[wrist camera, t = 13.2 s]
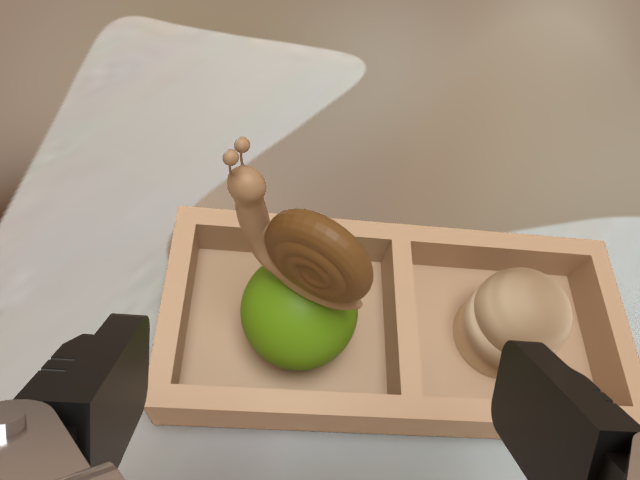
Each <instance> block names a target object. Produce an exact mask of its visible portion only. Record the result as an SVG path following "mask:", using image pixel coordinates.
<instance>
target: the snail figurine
mask: <svg viewBox="0 0 640 480" xmlns="http://www.w3.org/2000/svg"><path fill="white" fill-rule="evenodd" d="M234 148H235V150H236V151H237V152H239V153H240V161H241V166H239V167H236V168H234V169H233V170H232V171H231V166H233V165H235V164H236V163H237V162H238V160H239V155H238V153H237V152H236V151H235V150H233V149H229V150H227V151H226V152H225V153H224V155H223V162H224V163H225V164H226V165H229V175H228V180H227V186H228V190H229V193H230V194H231V196H232V197H233V199H234V201H235V209H236V214H237V218H238V222H239V225H240V228H241V231H242V233H243V235H244V238H245V240H246V242H247V244H248V246H249V248H250V249H251V251H252V253H253V254H254V256H255V258H256V259H257V260H258V261H259V263H260V264H261V265H262V266H261V267H260V268H259V269H258V270H257V271H256V272H255V273H254V274H253V276H252V277H251V278H250V280H249V281H248V283H247V285H246V287H245V290H244V292H243V296H242V300H241V307H240V316H241V323H242V328H243V331H244V334H245V336H246V338H247V340H248V342H249V343H250V345H251V346H252V348H253V349H254V350H255V351H256V352H257V354H259V355H260V356H261V357H262V358H263V359H264V360H266V361H267V362H269V363H271V364H273V365H275V366H277V367H280V368H283V369H287V370H294V371H304V370H311V369H315V368H318V367H321V366H323V365H325V364H327V363H329V362H330V361H332V360H333V359H335V358H336V357H337V356H338V355H339V354H340V353H341V352H342V351H343V350H344V349H345V348H346V346H347V345H348V344H349V342H350V340H351V338H352V336H353V334H354V331H355V328H356V325H357V319H358V309H360V308H361V307H362V306H363V303H362V301H361V300H360V299H362V298H363V297H364V296H365V295H366V294H367V293H368V292H369V291H370V289H371V286H372V283H373V277H374V273H373V267H372V263H371V260H370V258H369V256H368V254H367V252H366V250H365V249H364V247H363V246H362V244H361V243H360V242H359V241H358V240H357V239H356V238H355V237H354V236H353V235H352V234H351V233H350V232H349V231H348V230H347V229H346V228H344V227H343V226H342V225H340V224H339V223H337V222H336V221H334V220H332V219H330V218H328V217H327V216H325V215H322V214H320V213H317V212H314V211H310V210H306V209H290V210H285V211H282V212H280V213H279V214H277V215H276V216H275V217H273V219H272V220H271V221H270V219H269V215H268V211H267V208H266V205H265V202H264V198H263V197H264V195H265V192H266V182H265V180H264V177H263V176H262V174H261V173H260V172H259V171H258V170H256V169H255V168H253V167H250V166H245V165H244V164H243V159H242V153H245V152H247V151H248V150H249V148H250V142H249V140H248V139H247V138H246V137H239V138H238V139H237V140H236V141H235V144H234Z"/></svg>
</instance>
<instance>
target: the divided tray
mask: <svg viewBox="0 0 640 480" xmlns="http://www.w3.org/2000/svg"><path fill="white" fill-rule="evenodd" d="M268 215H269V219H270V221H271V220H272V219H273V217H275V216H276V215H277V214H273V213H268ZM330 219H332V220H334V221H336V222H337V223H339V224H340V225H342V226H343V227H344V228H346V229H347V230H348V231H349V232H350V233H351V234H352V235H353V236H354V237H355V238H356V239H357V240H358V241H359V242H360V243H361V244H362V246H363V247H364V249H365V250H366V252H367V254H368V256H369V258H370V260H371V263H372V267H373V273H374V277H373V283H372V286H371V289H370V291H369V292H368V293H367V294H366V295H365V296H364V297H363V298H362V299H360V300H361V301H362V303H363V306H362V307H361V308H360V309H358V319H357V325H356V328H355V331H354V334H353V336H352V338H351V340H350V342H349V344H348V345H347V346H346V348H345V349H344V350H343V351H342V352H341V353H340V354H339V355H338V356H337V357H336V358H335V359H333V360H332V361H330V362H329V363H327V364H325V365H323V366H321V367H318V368H315V369H311V370H304V371H294V370H287V369H283V368H280V367H277V366H275V365H273V364H271V363H269V362H267V361H266V360H264V359H263V358H262V357H261V356H260V355H259V354H257V352H256V351H255V350H254V349H253V348H252V346H251V345H250V343H249V342H248V340H247V338H246V336H245V334H244V331H243V328H242V323H241V316H240V307H241V300H242V296H243V292H244V290H245V287H246V285H247V283H248V281H249V280H250V278H251V277H252V276H253V274H254V273H255V272H256V271H257V270H258V269H259V268H260V267H261V266H262V265H261V264H260V263H259V261H258V260H257V259H256V258H255V256H254V254H253V253H252V251H251V249H250V248H249V246H248V244H247V242H246V240H245V238H244V235H243V233H242V231H241V228H240V225H239V222H238V218H237V214H236V210H224V209H212V208H200V207H188V206H178V211H177V216H176V222H175V227H174V233H173V238H172V244H171V249H170V255H169V260H168V266H167V271H166V277H165V282H164V288H163V293H162V299H161V304H160V310H159V315H158V321H157V326H156V332H155V337H154V343H153V348H152V354H151V359H150V365H149V373H148V391H147V397H146V402H145V406H144V411H145V412H146V414H147V415H148V417H149V418H150V420H151V421H152V423H153V424H154V425H177V426H201V427H225V428H249V429H273V430H297V431H321V432H345V433H369V434H394V435H418V436H442V437H466V438H490V439H501V438H500V436H499V435H498V433H497V432H496V430H495V428H494V425H493V422H492V416H491V402H492V397H493V392H494V387H495V382H496V379H494V378H490V377H488V376H485V375H483V374H481V373H479V372H478V371H476V370H475V369H473V368H472V367H471V366H470V365H469V364H468V363H467V362H466V361H465V360H464V359H463V357H462V356H461V354H460V353H459V351H458V349H457V347H456V344H455V341H454V337H453V322H454V318H455V316H456V314H457V312H458V310H459V309H460V308H461V307H462V305H463V304H464V303H465V302H466V301H467V300H468V299H469V298H470V296H471V295H472V294H473V293H474V292H475V291H476V290H477V288H478V287H479V286H480V285H481V284H482V283H483V282H484V281H485V280H486V279H487V278H488V277H490V276H491V275H493V274H495V273H496V272H499V271H501V270H504V269H508V268H516V267H523V268H530V269H534V270H537V271H540V272H542V273H544V274H546V275H548V276H549V277H551V278H552V279H553V280H555V281H556V282H557V283H558V284H559V285H560V286H561V287H562V289H563V290H564V292H565V293H566V295H567V297H568V299H569V301H570V305H571V308H572V317H573V319H572V328H571V331H570V334H569V336H568V338H567V340H566V342H565V343H564V345H563V346H562V347H561V348H560V349H559V350H558V351H557V352H556V353H555V354H556V355H557V356H558V357H559V358H560V359H561V360H562V361H563V362H564V363H565V364H567V365H568V366H569V367H570V368H572V369H574V370H576V371H577V372H579V373H581V374H583V375H585V376H586V377H587V378H589V379H590V380H591V381H592V382H593V383H594V384H595V385H596V386H597V387H598V388H600V389H601V392H604V393H605V394H606V395H607V396H608V397H610V398H611V399H612V400H613V403H616V404H617V405H618V406H620V407H621V408H622V409H623V410H624V411H625V412H626V413H627V414H628V415H630V416H631V417H632V418H633V419H634V420H635V421H636V422H637V423H638V424H639V425H640V360H639V357H638V353H637V350H636V347H635V343H634V340H633V337H632V333H631V330H630V326H629V323H628V320H627V316H626V313H625V310H624V306H623V303H622V300H621V296H620V293H619V290H618V286H617V283H616V280H615V276H614V273H613V269H612V266H611V263H610V259H609V256H608V253H607V249H606V246H605V243H604V241H601V240H588V239H576V238H564V237H552V236H540V235H528V234H516V233H504V232H491V231H479V230H466V229H454V228H442V227H430V226H418V225H407V224H394V223H382V222H370V221H358V220H346V219H334V218H330Z"/></svg>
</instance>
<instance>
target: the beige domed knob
mask: <svg viewBox="0 0 640 480" xmlns="http://www.w3.org/2000/svg"><path fill="white" fill-rule="evenodd" d="M572 319H573V317H572V308H571V305H570V301H569V299H568V297H567V295H566V293H565V292H564V290H563V289H562V287H561V286H560V285H559V284H558V283H557V282H556V281H555V280H553V279H552V278H551V277H549V276H548V275H546V274H544V273H542V272H540V271H537V270H534V269H530V268H523V267H516V268H508V269H504V270H501V271H499V272H496V273H495V274H493V275H491V276H490V277H488V278H487V279H486V280H485V281H484V282H483V283H482V284H481V285H480V286H479V287H478V288H477V290H476V291H475V292H474V293H473V294H472V295H471V296H470V298H469V299H468V300H467V301H466V302H465V303H464V304H463V305H462V307H461V308H460V309H459V310H458V312H457V314H456V316H455V318H454V322H453V337H454V341H455V344H456V347H457V349H458V351H459V353H460V354H461V356H462V357H463V359H464V360H465V361H466V362H467V363H468V364H469V365H470V366H471V367H472V368H473V369H475V370H476V371H478V372H479V373H481V374H483V375H485V376H488V377H490V378H494V379H496V377H497V372H498V367H499V362H500V357H501V352H502V349H503V346H504V344H505V343H506V342H507V341H509V340H516V341H531V342H542V343H544V344H545V345H546V346H547V347H548V348H549V349H550V350H551V351H552V352H554V353H556V352H557V351H558V350H559V349H560V348H561V347H562V346H563V345H564V343H565V342H566V340H567V338H568V336H569V334H570V331H571V328H572Z"/></svg>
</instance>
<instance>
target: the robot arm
mask: <svg viewBox="0 0 640 480" xmlns="http://www.w3.org/2000/svg"><path fill="white" fill-rule="evenodd" d="M149 333H150V325H149V318H148V316H145V315H130V314H115V313H112V314H111V315H110V316H109V317H108V318H107V319H106V321H105V322H104V323H103V324H102V326H101V327H100V328H99V329H98V331H97V332H96V333H95V334H94V335H92V334H82V335H80V336H78V337H76V338H74V339H72V340H70V341H68V342H66V343H64V344H62V346H61V347H60V348H59V349H58V350H57V351H56V352H55V353H54V354H53V356H52V357H51V360H48V361H47V362H46V363H45V364H44V366H43V367H42V368H41V371H38V372H37V373H36V374H35V376H34V377H33V378H32V379H31V380H30V381H29V382H28V383H27V384H26V386H25V387H24V388H23V389H22V390H21V391H20V392H19V393H18V394H17V396H16V397H15V398H14V399H13V400H5V401H0V480H125V479H124V478H123V476H122V475H121V473H120V472H119V470H118V466H119V464H120V462H121V460H122V457H123V455H124V453H125V451H126V448H127V446H128V444H129V442H130V439H131V437H132V435H133V433H134V430H135V428H136V426H137V424H138V421H139V419H140V417H141V415H142V412H143V410H144V406H145V402H146V397H147V391H148V373H149ZM491 416H492V422H493V425H494V428H495V430H496V432H497V433H498V435H499V436H500V438H501V439H502V441H503V443H504V444H505V446H506V447H507V449H508V450H509V452H510V453H511V455H512V456H513V458H514V459H515V461H516V462H517V464H518V466H519V467H520V469H521V470H522V472H523V473H524V475H525V476H526V478H527V479H528V480H640V425H639V424H638V423H637V422H636V421H635V420H634V419H633V418H632V417H631V416H630V415H628V414H627V413H626V412H625V411H624V410H623V409H622V408H621V407H620V406H618V405H617V404H616V403H613V400H612V399H611V398H610V397H608V396H607V395H606V394H605V393H604V392H601V389H600V388H598V387H597V386H596V385H595V384H594V383H593V382H592V381H591V380H590V379H589V378H587V377H586V376H585V375H583V374H581V373H579V372H577V371H576V370H574V369H572V368H570V367H569V366H568V365H567V364H565V363H564V362H563V361H562V360H561V359H560V358H559V357H558V356H557V355H556V354H555V353H554V352H552V351H551V350H550V349H549V348H548V347H547V346H546V345H545V344H544V343H542V342H531V341H516V340H509V341H507V342H506V343H505V344H504V346H503V349H502V352H501V357H500V362H499V367H498V372H497V377H496V382H495V387H494V392H493V397H492V402H491Z"/></svg>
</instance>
